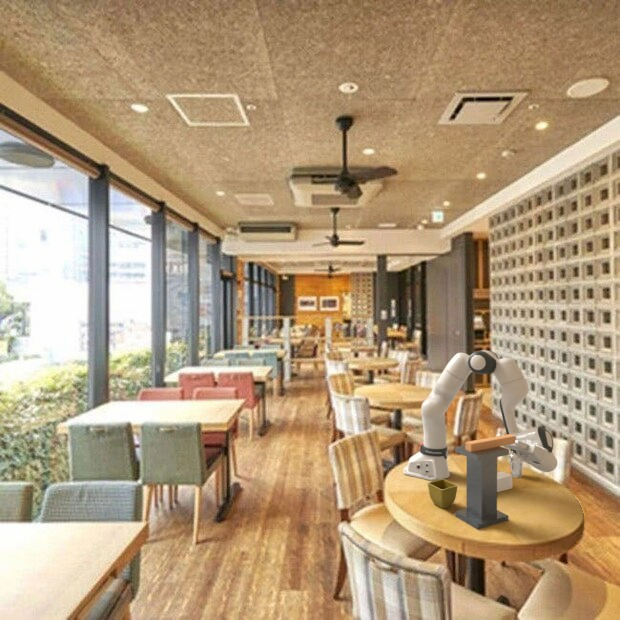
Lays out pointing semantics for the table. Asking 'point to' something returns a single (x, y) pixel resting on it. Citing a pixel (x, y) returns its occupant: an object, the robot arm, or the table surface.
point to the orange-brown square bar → (490, 442)
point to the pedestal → (482, 487)
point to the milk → (503, 481)
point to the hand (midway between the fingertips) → (507, 438)
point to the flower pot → (442, 492)
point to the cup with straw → (515, 464)
